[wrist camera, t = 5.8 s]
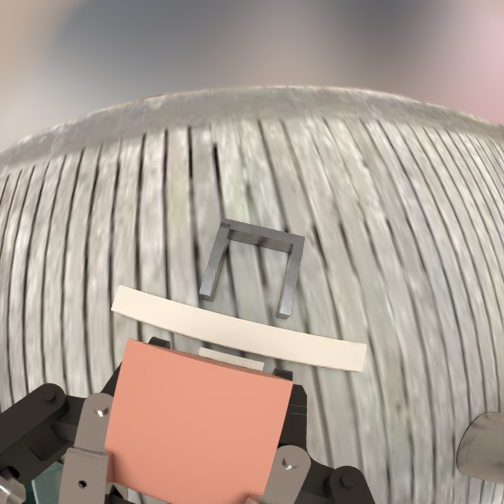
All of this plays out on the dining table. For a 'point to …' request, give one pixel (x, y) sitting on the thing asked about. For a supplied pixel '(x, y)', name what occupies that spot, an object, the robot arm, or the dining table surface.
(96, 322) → the dining table surface
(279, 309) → the keeper bracket
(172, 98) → the dining table surface
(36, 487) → the flower pot
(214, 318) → the strip
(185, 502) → the block
